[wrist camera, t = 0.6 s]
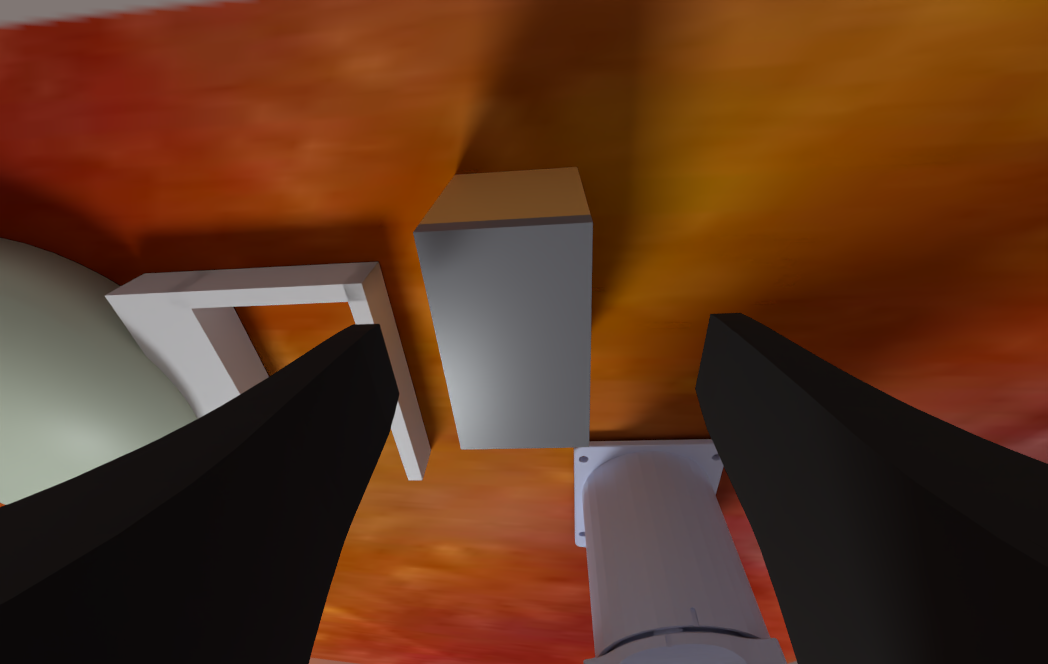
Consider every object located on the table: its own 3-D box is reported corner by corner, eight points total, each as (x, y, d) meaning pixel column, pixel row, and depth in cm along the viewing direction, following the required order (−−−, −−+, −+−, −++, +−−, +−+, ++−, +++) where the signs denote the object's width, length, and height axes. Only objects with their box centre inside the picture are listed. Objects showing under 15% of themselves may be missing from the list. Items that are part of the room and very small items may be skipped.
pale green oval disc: (438, 476, 25) (426, 523, 23) (37, 481, 27) (-15, 525, 25) (363, 207, 17) (331, 236, 14) (-219, 243, 18) (-339, 273, 16)
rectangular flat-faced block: (577, 345, 20) (589, 447, 15) (482, 349, 20) (461, 449, 15) (576, 166, 16) (592, 222, 10) (455, 174, 16) (413, 232, 11)
